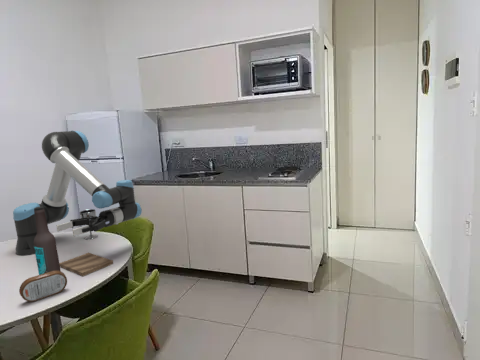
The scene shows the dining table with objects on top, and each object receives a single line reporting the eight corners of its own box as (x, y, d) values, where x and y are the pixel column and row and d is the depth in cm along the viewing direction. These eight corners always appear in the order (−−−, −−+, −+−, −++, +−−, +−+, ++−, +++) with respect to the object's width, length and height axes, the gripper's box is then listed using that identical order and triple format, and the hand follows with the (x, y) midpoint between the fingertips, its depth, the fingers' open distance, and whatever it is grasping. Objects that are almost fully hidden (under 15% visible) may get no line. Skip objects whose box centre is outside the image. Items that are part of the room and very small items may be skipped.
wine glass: (101, 234, 193) (98, 208, 190) (94, 239, 185) (90, 212, 182) (88, 235, 194) (84, 209, 191) (80, 239, 186) (76, 213, 183)
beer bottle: (37, 280, 137) (24, 208, 132) (56, 273, 143) (45, 204, 138) (44, 285, 133) (31, 210, 128) (64, 277, 138) (52, 206, 133)
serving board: (59, 266, 150) (58, 263, 150) (89, 255, 161) (88, 252, 161) (82, 276, 138) (82, 272, 138) (113, 263, 149) (112, 260, 149)
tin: (67, 287, 129) (63, 266, 128) (69, 290, 127) (66, 269, 125) (21, 303, 120) (17, 280, 118) (22, 306, 117) (18, 283, 116)
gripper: (127, 228, 151) (82, 244, 134) (96, 221, 166) (52, 235, 149) (125, 212, 150) (79, 225, 133) (94, 207, 165) (49, 218, 148)
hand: (64, 230), depth 141 cm, fingers open, 13 cm apart
